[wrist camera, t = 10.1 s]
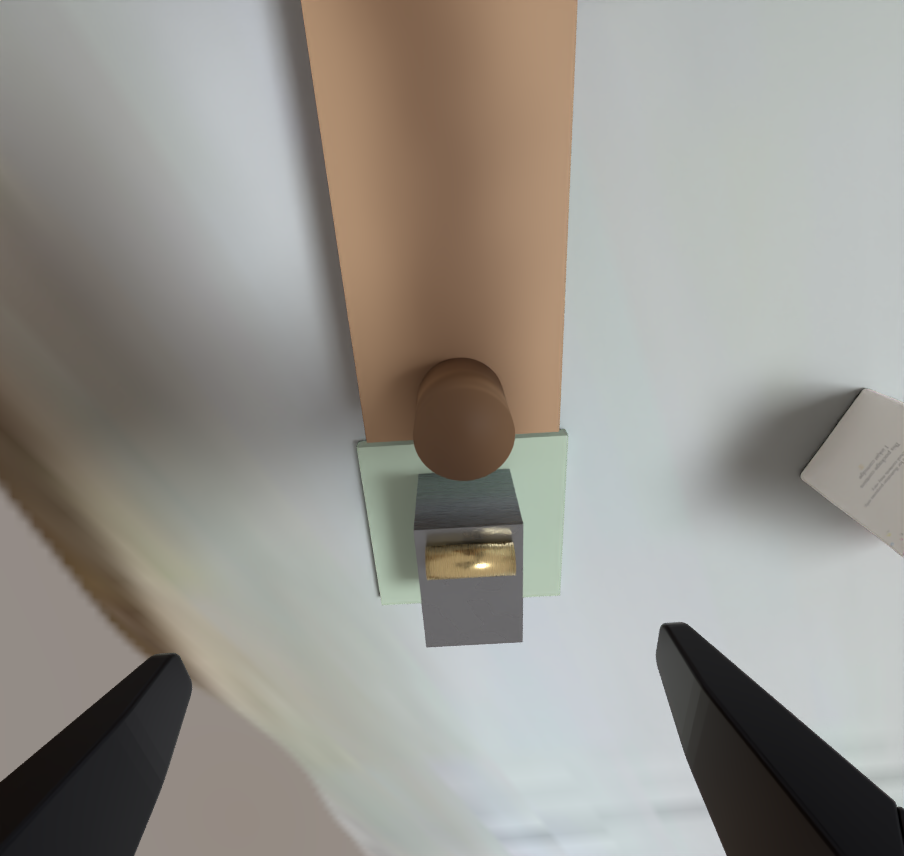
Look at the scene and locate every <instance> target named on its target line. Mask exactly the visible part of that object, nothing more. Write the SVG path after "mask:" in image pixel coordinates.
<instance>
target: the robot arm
mask: <svg viewBox="0 0 904 856" xmlns="http://www.w3.org/2000/svg"><path fill="white" fill-rule="evenodd" d="M656 662H657V666H658V670H659V673H660V676H661V680H662V683H663V686H664V689H665V693H666V696H667V699H668V702H669V706H670V709H671V712H672V715H673V718H674V722H675V725H676V728H677V731H678V735H679V738H680V741H681V744H682V747H683V750H684V753H685V756H686V759H687V761H688V764H689V766H690V769H691V772H692V774H693V776H694V779H695V781H696V784H697V786H698V788H699V791H700V793H701V795H702V798H703V800H704V803H705V805H706V807H707V810H708V812H709V815H710V817H711V819H712V822H713V824H714V826H715V829H716V831H717V834H718V836H719V838H720V841H721V843H722V846H723V848H724V850H725V853H726V855H727V856H904V808H902V807H897V805H896V803H895V801H894V800H893V799H892V798H890V797H889V796H888V795H887V794H886V793H885V792H883V791H882V790H881V789H880V788H879V787H877V786H876V785H875V784H874V783H873V782H872V781H870V780H869V779H868V778H867V777H866V776H865V775H863V774H862V773H861V772H860V771H859V770H858V769H856V768H855V767H854V766H853V765H852V764H851V763H849V762H848V761H847V760H846V759H845V758H844V757H842V756H841V755H840V754H839V753H838V752H837V751H835V750H834V749H833V748H832V747H831V746H830V745H828V744H827V743H826V742H825V741H824V740H822V739H821V738H820V737H819V736H818V735H817V734H815V733H814V732H813V731H812V730H811V729H810V728H808V727H807V726H806V725H805V724H804V723H803V722H801V721H800V720H799V719H798V718H797V717H796V716H794V715H793V714H792V713H791V712H790V711H789V710H787V709H786V708H785V707H784V706H783V705H782V704H780V703H779V702H778V701H777V700H776V699H775V698H773V697H772V696H771V695H770V694H769V693H767V692H766V691H765V690H764V689H763V688H762V687H760V686H759V685H758V684H757V683H756V682H755V681H753V680H752V679H751V678H750V677H749V676H748V675H746V674H745V673H744V672H743V671H742V670H741V669H739V668H738V667H737V666H736V665H735V664H734V663H732V662H731V661H730V660H729V659H728V658H727V657H725V656H724V655H723V654H722V653H721V652H720V651H718V650H717V649H716V648H715V647H714V646H712V645H711V644H710V643H709V642H708V641H707V640H705V639H704V638H703V637H702V636H701V635H700V634H698V633H697V632H696V631H695V630H694V629H693V628H691V627H690V626H689V625H688V624H686V623H683V622H674V623H664V624H662V625H661V627H660V631H659V637H658V643H657V650H656ZM191 692H192V682H191V679H190V676H189V674H188V672H187V670H186V668H185V666H184V664H183V662H182V660H181V658H180V656H179V655H178V654H176V653H164V654H156V655H153V656H151V657H150V658H148V659H147V660H146V661H145V662H144V663H142V664H141V665H140V666H139V667H138V668H136V669H135V670H134V671H133V672H132V673H131V674H129V675H128V676H127V677H126V678H125V679H123V680H122V681H121V682H120V683H119V684H117V685H116V686H115V687H114V688H112V689H111V690H110V691H109V692H108V693H107V694H105V695H104V696H103V697H102V698H101V699H100V700H98V701H97V702H96V703H95V704H93V705H92V706H91V707H90V708H89V709H87V710H86V711H85V712H84V713H83V714H81V715H80V716H79V717H78V718H77V719H75V720H74V721H73V722H72V723H71V724H69V725H68V726H67V727H66V728H65V729H63V730H62V731H61V732H60V733H59V734H58V735H56V736H55V737H54V738H53V739H52V740H50V741H49V742H48V743H47V744H46V745H44V746H43V747H42V748H41V749H40V750H38V751H37V752H36V753H35V754H33V756H31V757H30V758H29V759H28V760H26V761H25V762H24V763H23V764H22V765H20V766H19V767H18V768H17V769H16V770H14V771H13V772H12V773H11V774H10V775H8V776H7V777H6V778H5V779H4V780H2V781H1V782H0V856H134V855H135V852H136V850H137V847H138V845H139V842H140V840H141V837H142V835H143V833H144V830H145V828H146V825H147V823H148V820H149V818H150V815H151V813H152V811H153V808H154V805H155V803H156V801H157V798H158V796H159V793H160V790H161V788H162V785H163V782H164V780H165V776H166V774H167V770H168V768H169V765H170V761H171V758H172V755H173V752H174V748H175V745H176V742H177V739H178V735H179V732H180V729H181V725H182V722H183V719H184V716H185V713H186V709H187V706H188V703H189V700H190V696H191Z"/></svg>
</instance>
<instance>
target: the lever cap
mask: <svg viewBox="0 0 904 856" xmlns="http://www.w3.org/2000/svg"><path fill="white" fill-rule="evenodd" d="M413 531H414V540H415V549H416V558H417V567H418V576H419V585H420V594H421V603H422V612H423V620H424V629H425V638H426V647H442V646H460V645H478V644H497V643H515V642H522V640H523V520H522V516H521V512H520V508H519V504H518V500H517V496H516V492H515V488H514V484H513V480H512V476H511V472H510V469H497V470H496V471H494V472H493V473H491V474H489V475H487V476H485V477H482V478H479V479H475V480H469V481H457V480H451V479H447V478H444V477H441V476H439V475H437V474H436V473H426V474H418V485H417V496H416V507H415V518H414V530H413Z"/></svg>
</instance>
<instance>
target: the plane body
mask: <svg viewBox="0 0 904 856" xmlns="http://www.w3.org/2000/svg"><path fill="white" fill-rule="evenodd" d="M301 5H302V12H303V19H304V26H305V32H306V39H307V46H308V52H309V59H310V66H311V73H312V79H313V86H314V93H315V99H316V106H317V113H318V120H319V126H320V133H321V140H322V146H323V153H324V160H325V166H326V173H327V180H328V187H329V193H330V200H331V207H332V213H333V220H334V227H335V234H336V240H337V247H338V254H339V260H340V267H341V274H342V281H343V287H344V294H345V301H346V307H347V314H348V321H349V328H350V334H351V341H352V348H353V354H354V361H355V368H356V375H357V381H358V388H359V395H360V401H361V408H362V415H363V422H364V428H365V435H366V442H367V443H374V442H391V441H408V440H413V442H414V447H415V450H416V452H417V454H418V456H419V458H420V460H421V461H422V462H423V463H424V465H425V466H426V467H427V468H429V469H430V470H431V471H432V472H434V473H436V474H437V475H439V476H441V477H444V478H447V479H451V480H457V481H469V480H475V479H479V478H482V477H485V476H487V475H489V474H491V473H493V472H494V471H496V470H497V469H498V468H499V467H501V466H502V464H503V463H504V462H505V461H506V460H507V458H508V457H509V455H510V453H511V451H512V449H513V446H514V441H515V434H528V433H545V432H559V425H560V401H561V378H562V354H563V330H564V307H565V283H566V259H567V236H568V212H569V189H570V165H571V141H572V118H573V94H574V71H575V47H576V23H577V0H301Z"/></svg>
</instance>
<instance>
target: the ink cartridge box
mask: <svg viewBox="0 0 904 856" xmlns="http://www.w3.org/2000/svg"><path fill="white" fill-rule="evenodd" d="M800 477H801V479H802V480H803V481H804V482H806V483H807V484H808V485H809V486H811V487H812V488H813V489H815V490H816V491H817V492H819V493H820V494H821V495H823V496H824V497H825V498H826V499H828V500H829V501H830V502H832V503H833V504H834V505H835V506H837V507H838V508H839V509H841V510H842V511H843V512H845V513H846V514H847V515H849V516H850V517H851V518H853V519H854V520H855V521H857V522H858V523H859V524H861V525H862V526H863V527H865V528H866V529H867V530H868V531H870V532H871V533H872V534H874V535H875V536H876V537H878V538H879V539H880V540H882V541H883V542H884V543H885V544H887V545H888V546H889V547H890V548H892V549H893V550H894V551H896V552H897V553H898V554H899V555H901V556H902V557H903V558H904V402H901V401H898V400H896V399H893V398H891V397H888V396H886V395H883V394H881V393H879V392H876V391H873V390H871V389H863V390H862V392H861V393H860V394H859V396H858V397H857V398H856V400H855V401H854V402H853V404H852V405H851V407H850V408H849V409H848V411H847V412H846V413H845V415H844V416H843V417H842V419H841V420H840V422H839V423H838V424H837V426H836V427H835V429H834V430H833V431H832V433H831V434H830V435H829V437H828V438H827V440H826V441H825V442H824V444H823V445H822V446H821V448H820V449H819V450H818V452H817V453H816V454H815V456H814V457H813V458H812V460H811V461H810V463H809V464H808V465H807V467H806V468H805V469H804V470H803V472H802V473H801V476H800Z"/></svg>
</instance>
